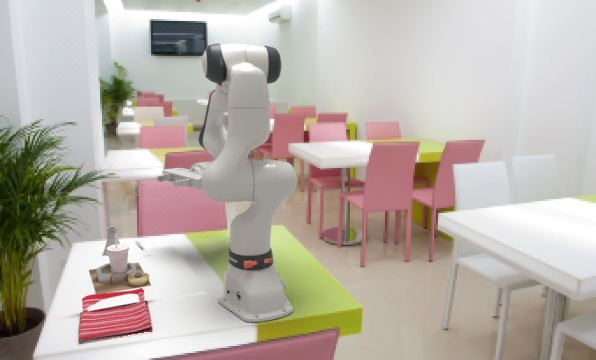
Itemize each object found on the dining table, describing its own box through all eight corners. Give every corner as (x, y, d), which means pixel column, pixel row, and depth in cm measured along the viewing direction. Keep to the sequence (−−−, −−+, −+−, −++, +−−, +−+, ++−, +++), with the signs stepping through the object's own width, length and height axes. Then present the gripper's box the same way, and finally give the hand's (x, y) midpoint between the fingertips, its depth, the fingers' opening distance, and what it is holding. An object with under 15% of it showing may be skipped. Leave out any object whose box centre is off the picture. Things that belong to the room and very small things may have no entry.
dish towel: (145, 295, 145) (145, 286, 145) (154, 334, 124) (154, 324, 123) (80, 303, 139) (80, 294, 139) (78, 346, 118) (77, 335, 117)
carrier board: (151, 289, 148) (151, 276, 147) (96, 298, 141) (95, 285, 140) (138, 266, 165) (138, 254, 164) (89, 273, 158) (88, 261, 157)
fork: (138, 239, 193) (138, 234, 192) (155, 259, 172) (154, 254, 172) (130, 240, 191) (129, 235, 191) (145, 261, 171) (145, 256, 170)
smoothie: (103, 280, 151) (100, 234, 148) (118, 272, 156) (116, 228, 153) (120, 283, 148) (118, 237, 145) (135, 275, 154) (133, 231, 151)
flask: (117, 260, 170) (116, 232, 167) (97, 258, 171) (96, 230, 169) (128, 253, 176) (127, 225, 174) (109, 251, 178) (107, 224, 176)
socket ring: (138, 279, 151) (138, 272, 151) (99, 286, 146) (99, 278, 146) (132, 267, 161) (132, 259, 160) (95, 273, 156) (94, 265, 155)
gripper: (183, 162, 177) (148, 167, 167) (220, 170, 163) (184, 176, 153) (183, 180, 178) (148, 185, 168) (220, 189, 165) (185, 196, 155)
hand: (166, 181), depth 161 cm, fingers open, 8 cm apart
